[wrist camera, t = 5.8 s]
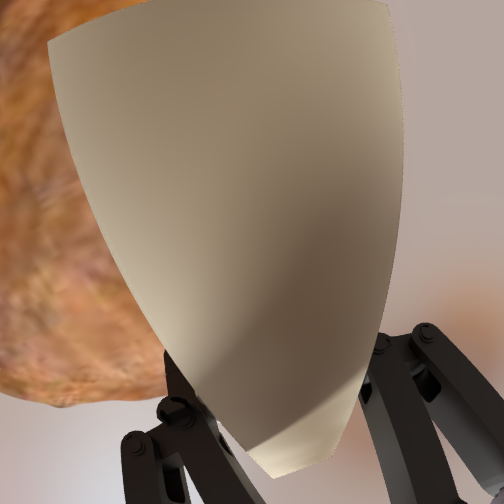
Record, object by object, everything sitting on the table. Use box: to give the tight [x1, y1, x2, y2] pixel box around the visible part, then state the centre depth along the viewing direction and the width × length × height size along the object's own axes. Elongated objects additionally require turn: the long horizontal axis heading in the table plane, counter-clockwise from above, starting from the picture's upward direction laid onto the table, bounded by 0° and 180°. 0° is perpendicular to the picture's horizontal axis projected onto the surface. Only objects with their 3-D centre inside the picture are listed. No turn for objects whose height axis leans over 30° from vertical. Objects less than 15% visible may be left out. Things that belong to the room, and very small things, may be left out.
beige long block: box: [47, 0, 404, 479], centre depth 9 cm, size 4×20×6 cm, turn 10°
